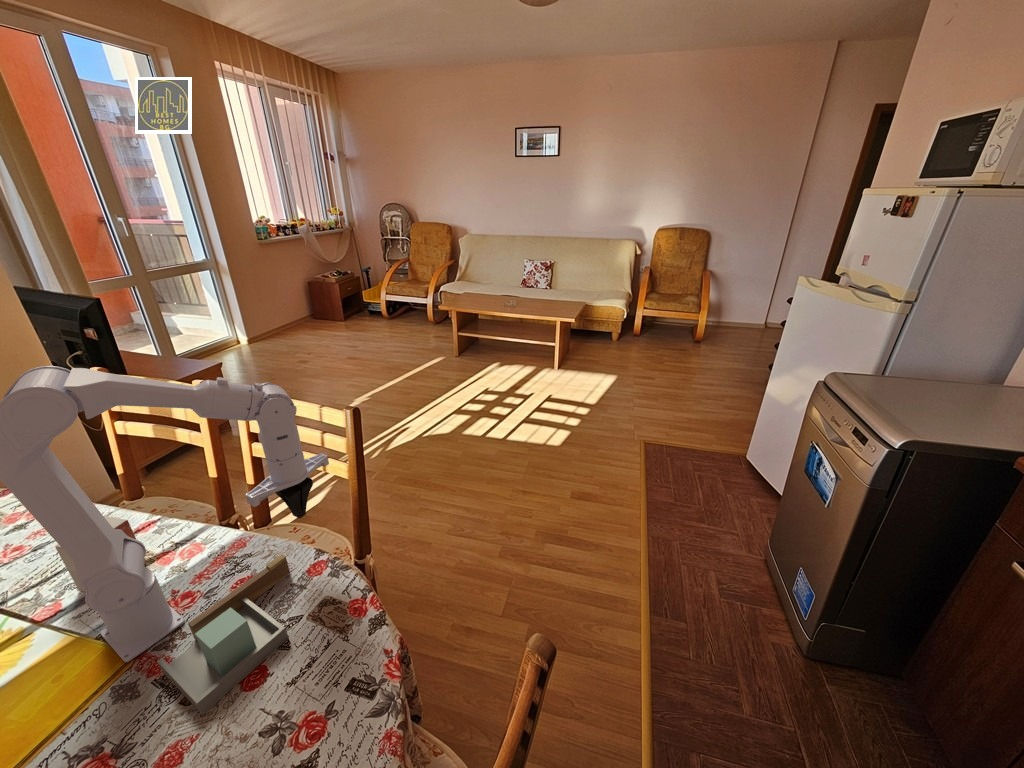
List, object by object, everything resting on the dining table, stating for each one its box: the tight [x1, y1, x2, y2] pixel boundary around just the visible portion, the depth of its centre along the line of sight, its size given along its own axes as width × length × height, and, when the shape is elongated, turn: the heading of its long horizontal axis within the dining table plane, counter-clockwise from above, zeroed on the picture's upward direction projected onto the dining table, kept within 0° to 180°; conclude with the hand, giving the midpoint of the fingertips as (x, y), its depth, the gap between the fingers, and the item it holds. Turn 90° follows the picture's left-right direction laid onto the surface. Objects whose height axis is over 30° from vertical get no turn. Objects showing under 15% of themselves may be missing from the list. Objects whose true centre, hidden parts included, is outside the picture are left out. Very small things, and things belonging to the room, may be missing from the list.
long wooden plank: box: [187, 553, 291, 641], centre depth 72 cm, size 1×16×4 cm, turn 150°
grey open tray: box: [157, 597, 290, 716], centre depth 64 cm, size 11×13×2 cm
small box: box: [54, 515, 147, 593], centre depth 76 cm, size 8×6×10 cm
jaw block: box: [195, 607, 257, 677], centre depth 62 cm, size 4×5×6 cm
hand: (299, 514), depth 78 cm, fingers closed
